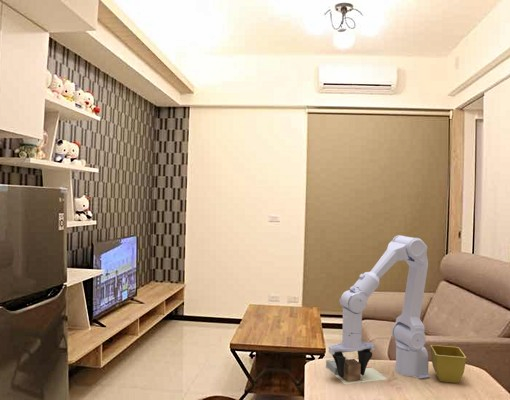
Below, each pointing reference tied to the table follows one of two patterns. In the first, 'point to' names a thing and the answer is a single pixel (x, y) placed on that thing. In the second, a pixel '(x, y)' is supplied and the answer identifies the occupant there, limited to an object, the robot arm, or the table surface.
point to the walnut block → (352, 370)
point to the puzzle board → (365, 376)
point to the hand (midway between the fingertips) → (351, 374)
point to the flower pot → (448, 362)
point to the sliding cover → (332, 366)
